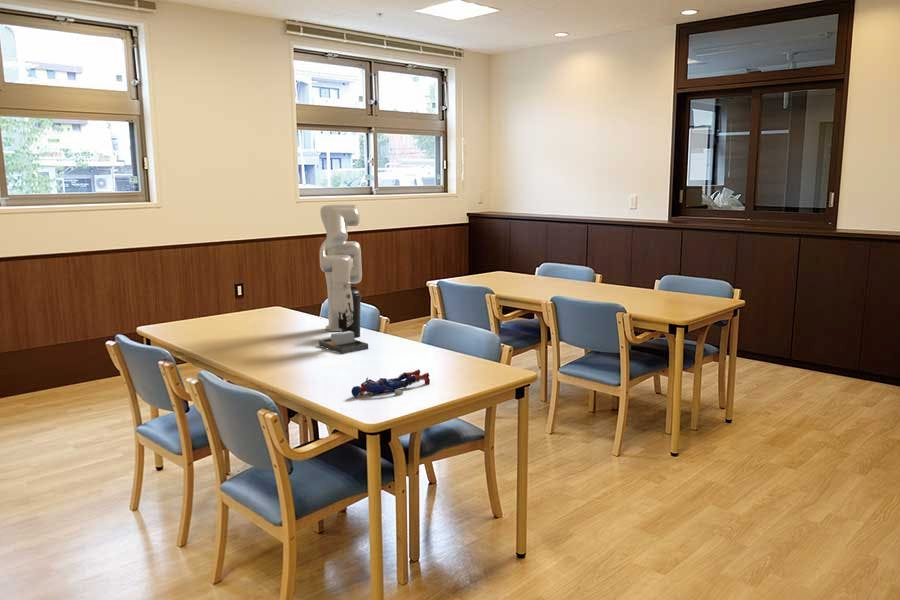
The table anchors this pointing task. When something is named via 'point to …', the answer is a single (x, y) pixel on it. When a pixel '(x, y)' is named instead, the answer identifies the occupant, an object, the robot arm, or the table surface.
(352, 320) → the water bottle
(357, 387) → the figurine
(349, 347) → the rack
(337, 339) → the rectangular block
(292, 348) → the table surface
